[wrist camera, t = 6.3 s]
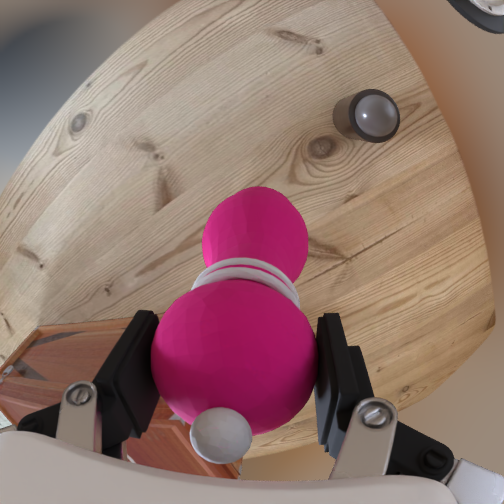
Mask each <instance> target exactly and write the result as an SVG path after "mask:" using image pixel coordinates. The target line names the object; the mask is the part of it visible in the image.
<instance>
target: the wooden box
mask: <svg viewBox="0 0 504 504" xmlns="http://www.w3.org/2000/svg"><path fill="white" fill-rule="evenodd" d="M156 315H157V316H158V318H159V322H160V321H161V319H162V317H163V315H164V313H161V314H156ZM132 319H133V317H129V318H120V319H111V320H102V321H92V322H82V323H71V324H60V325H48V326H37V327H36V328H35V329H34V330H33V331H32V332H31V333H30V334H29V336H28V337H27V338H26V339H25V340H24V341H23V342H22V343H21V344H20V345H19V347H18V348H17V349H16V350H15V351H14V352H13V353H12V354H11V356H10V357H9V358H8V359H7V360H6V361H5V363H4V364H3V365H2V366H1V367H0V411H1V412H2V413H3V414H4V415H5V417H6V418H7V419H8V420H9V421H10V422H11V423H12V424H15V425H16V426H18V423H19V422H20V420H21V419H22V418H23V417H24V416H26V415H28V414H30V413H33V412H36V411H38V410H41V409H44V408H46V407H49V406H52V405H54V404H57V403H59V402H61V400H62V395H63V392H64V390H65V389H66V388H67V387H68V386H69V385H70V384H72V383H74V382H76V381H81V380H83V381H89V382H92V381H93V379H94V378H95V376H96V374H97V373H98V371H99V369H100V368H101V366H102V365H103V363H104V361H105V360H106V358H107V357H108V355H109V354H110V352H111V350H112V349H113V347H114V346H115V344H116V343H117V341H118V340H119V338H120V337H121V335H122V334H123V332H124V331H125V329H126V328H127V326H128V325H129V323H130V322H131V320H132ZM190 429H191V425H190V424H188V423H187V422H186V421H184V420H183V419H182V418H181V417H179V416H178V415H177V414H176V413H174V412H173V411H172V409H171V408H170V407H169V406H168V405H167V403H166V402H165V401H164V399H163V398H162V397H161V395H160V398H159V400H158V403H157V405H156V408H155V411H154V413H153V416H152V418H151V421H150V424H149V426H148V429H147V431H146V432H145V433H142V435H141V438H140V439H137V438H133V437H129V438H128V439H127V440H126V449H127V462H131V463H135V464H139V465H144V466H148V467H153V468H158V469H163V470H168V471H173V472H179V473H185V474H192V475H199V476H207V477H215V478H225V479H237V480H240V477H239V475H241V469H242V459H243V457H242V458H240V459H239V460H237V461H235V462H232V463H228V464H215V463H212V462H209V461H207V460H205V459H204V458H202V457H201V456H199V455H198V454H197V452H196V451H195V450H194V448H193V446H192V444H191V441H190Z"/></svg>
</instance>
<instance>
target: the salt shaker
mask: <svg viewBox="0 0 504 504" xmlns="http://www.w3.org/2000/svg"><path fill="white" fill-rule="evenodd" d="M333 122H334V125H335V127H336V128H337V130H338V131H339V132H340V133H341V134H342V135H344V136H345V137H348V138H351V139H356V140H361V141H367V142H372V143H381V142H385V141H387V140H389V139H391V138H392V137H393V136H394V135H395V133H396V132H397V130H398V128H399V124H400V114H399V110H398V107H397V105H396V103H395V102H394V100H393V99H392V98H391V97H390V96H389V95H388V94H386V93H384V92H382V91H380V90H376V89H367V90H363V91H361V92H358V93H355V94H353V95H350V96H348V97H345V98H343V99H341V100H340V101H339V102H338V103H337V104H336V106H335V108H334V110H333Z"/></svg>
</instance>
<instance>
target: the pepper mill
mask: <svg viewBox="0 0 504 504" xmlns="http://www.w3.org/2000/svg"><path fill="white" fill-rule="evenodd" d="M202 250H203V257H204V261H205V264H206V266H207V269H205V270H204V271H203V272H202V273H201V274H200V275H199V276H198V278H197V279H196V281H195V282H194V284H193V286H192V289H191V291H189V292H187V293H186V294H184V295H182V296H181V297H179V298H178V299H177V300H175V301H174V303H173V304H172V305H171V306H170V307H169V309H168V310H167V311H166V312H165V313H164V315H163V317H162V319H161V321H160V323H159V325H158V327H157V329H156V332H155V335H154V338H153V342H152V345H151V372H152V377H153V380H154V382H155V384H156V387H157V389H158V391H159V394H160V395H161V397H162V398H163V399H164V401H165V402H166V403H167V405H168V406H169V407H170V408H171V409H172V411H173V412H174V413H176V414H177V415H178V416H179V417H181V418H182V419H183V420H184V421H186V422H187V423H188V424H190V425H191V429H190V441H191V444H192V446H193V448H194V450H195V451H196V452H197V454H198V455H199V456H201V457H202V458H204V459H205V460H207V461H209V462H212V463H215V464H228V463H232V462H235V461H237V460H239V459H240V458H242V457H243V456H244V455H245V453H246V452H247V451H248V449H249V448H250V445H251V442H252V436H254V435H259V434H263V433H266V432H269V431H272V430H274V429H276V428H278V427H280V426H282V425H284V424H285V423H287V422H289V421H290V420H291V419H292V418H293V417H294V416H295V415H296V414H297V413H298V412H299V411H300V410H301V409H302V408H303V407H304V406H305V404H306V403H307V401H308V400H309V398H310V396H311V393H312V391H313V388H314V386H315V383H316V379H317V375H318V361H319V355H318V345H317V341H316V338H315V335H314V332H313V330H312V328H311V326H310V324H309V322H308V320H307V317H306V316H305V315H304V314H303V313H302V312H301V311H300V301H299V297H298V294H297V291H296V289H295V287H294V285H293V283H294V282H295V280H296V279H297V278H298V277H299V275H300V273H301V271H302V269H303V267H304V265H305V262H306V260H307V254H308V233H307V228H306V225H305V222H304V220H303V218H302V216H301V215H300V213H299V212H298V211H297V209H296V208H295V207H294V206H293V205H292V204H291V203H290V201H289V200H288V199H287V198H286V197H285V196H284V195H283V194H281V193H280V192H278V191H276V190H274V189H271V188H267V187H260V186H257V187H250V188H246V189H243V190H241V191H239V192H237V193H236V194H235V195H232V196H230V197H228V198H227V199H225V200H224V201H223V202H222V203H220V204H219V205H218V206H217V207H216V208H215V209H214V211H213V212H212V214H211V215H210V217H209V219H208V221H207V224H206V227H205V229H204V232H203V239H202Z"/></svg>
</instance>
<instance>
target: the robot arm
mask: <svg viewBox="0 0 504 504" xmlns="http://www.w3.org/2000/svg"><path fill="white" fill-rule="evenodd" d="M470 1H471V2H472V3H473V4H474V5H475V6H477V7H478V8H479V9H481V10H482V11H484V12H486V13H488V14H490V15H494V16H501V15H504V0H470ZM159 323H160V322H159V318H158V316H157V315H156V314H154V312H153V311H149V310H138V311H137V313H136V314H135V316H134V317H133V319H132V320H131V322H130V323H129V325H128V326H127V328H126V329H125V331H124V332H123V334H122V335H121V337H120V338H119V340H118V341H117V343H116V344H115V346H114V347H113V349H112V350H111V352H110V354H109V355H108V357H107V358H106V360H105V361H104V363H103V365H102V366H101V368H100V369H99V371H98V373H97V374H96V376H95V378H94V379H93V381H92V382H89V381H83V380H81V381H76V382H74V383H72V384H70V385H69V386H68V387H67V388H66V389H65V390H64V392H63V395H62V400H61V402H59V403H57V404H54V405H52V406H49V407H46V408H44V409H41V410H38V411H36V412H33V413H30V414H28V415H26V416H24V417H23V418H22V419H21V420H20V422H19V423H18V426H16V425H15V424H13V425H10V426H7V427H4V428H1V429H0V504H502V502H503V500H504V477H503V476H501V475H500V474H497V473H495V472H493V471H490V470H488V469H485V468H483V467H481V466H478V465H476V464H474V463H472V462H469V461H467V460H465V459H463V458H461V459H460V460H457V459H455V458H454V456H453V453H452V451H451V450H450V449H449V448H448V447H447V446H446V445H444V444H442V443H440V442H438V441H436V440H434V439H432V438H430V437H428V436H426V435H424V434H422V433H420V432H418V431H416V430H414V429H413V428H411V427H409V426H407V425H405V424H403V423H401V422H399V421H398V420H397V419H398V412H397V410H396V408H395V406H394V405H393V404H392V403H391V402H389V401H387V400H386V399H382V398H376V397H374V394H373V390H372V386H371V383H370V379H369V376H368V372H367V369H366V365H365V362H364V359H363V355H362V352H361V349H360V347H359V346H348V345H347V341H346V338H345V334H344V330H343V327H342V323H341V319H340V316H339V313H324V315H323V317H318V324H317V335H316V341H317V345H318V355H319V361H318V375H317V379H316V383H315V386H314V393H315V404H316V415H317V428H318V441H319V445H324V449H325V452H329V455H330V456H332V457H333V458H335V459H336V461H335V465H334V467H333V470H332V472H331V474H330V476H329V479H328V480H316V481H315V480H313V481H254V480H237V479H225V478H215V477H207V476H199V475H192V474H185V473H179V472H173V471H168V470H163V469H158V468H153V467H148V466H144V465H139V464H135V463H131V462H127V449H126V440H127V439H128V438H129V437H133V438H137V439H140V438H141V435H142V433H145V432H146V431H147V429H148V426H149V424H150V421H151V418H152V416H153V413H154V411H155V408H156V405H157V403H158V400H159V398H160V394H159V391H158V389H157V387H156V384H155V382H154V380H153V377H152V372H151V345H152V342H153V338H154V335H155V332H156V329H157V327H158V325H159Z"/></svg>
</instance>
